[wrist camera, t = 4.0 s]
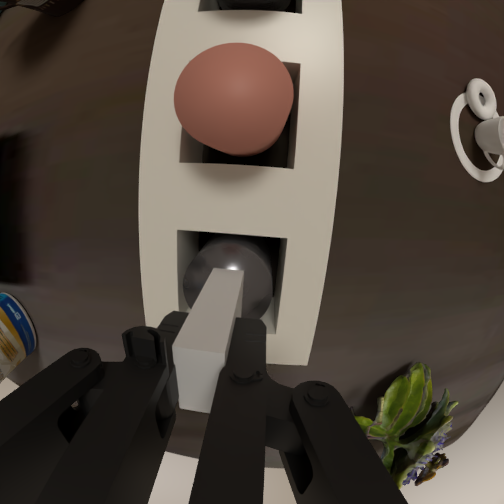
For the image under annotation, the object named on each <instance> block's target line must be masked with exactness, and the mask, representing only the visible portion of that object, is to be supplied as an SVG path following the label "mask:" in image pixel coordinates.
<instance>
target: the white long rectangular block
mask: <svg viewBox="0 0 504 504" xmlns="http://www.w3.org/2000/svg"><path fill="white" fill-rule="evenodd" d="M219 6H220V5H219V3H218V0H164V4H163V8H162V12H161V16H160V20H159V24H158V29H157V33H156V38H155V43H154V48H153V53H152V58H151V64H150V70H149V76H148V83H147V90H146V98H145V106H144V115H143V125H142V137H141V151H140V170H139V246H140V265H141V280H142V292H143V303H144V312H145V321H146V326H149V327H153V328H157V327H158V326H159V325H160V323H161V321H162V320H163V318H164V317H165V316H166V315H167V314H169V313H171V312H172V311H180V312H187V313H190V311H191V309H190V307H189V306H188V304H187V302H186V299H185V297H184V292H183V279H184V274H185V272H186V269H187V267H188V266H189V264H190V263H191V261H192V260H193V259H194V258H195V256H196V255H197V254H198V253H199V231H203V232H216V233H229V234H242V235H254V236H266V237H278V238H280V248H279V257H278V267H277V276H276V285H275V294H274V297H272V300H271V303H270V306H269V308H268V309H267V311H266V312H265V314H264V315H263V316H262V317H261V318H260V319H261V320H262V321H263V322H264V324H265V325H266V327H267V332H266V363H268V364H285V365H307V364H308V360H309V355H310V351H311V346H312V342H313V337H314V333H315V328H316V323H317V318H318V313H319V308H320V303H321V297H322V292H323V286H324V281H325V275H326V269H327V262H328V256H329V249H330V243H331V235H332V228H333V220H334V212H335V204H336V195H337V185H338V175H339V163H340V150H341V135H342V116H343V82H344V53H343V21H342V4H341V0H296V13H290V12H279V11H263V10H219ZM226 43H248V44H253V45H256V46H259V47H261V48H264V49H266V50H267V51H269V52H271V53H272V54H274V55H275V56H276V57H277V58H278V59H279V60H280V61H281V62H282V63H283V64H284V66H285V67H286V69H287V70H288V72H289V74H290V77H291V80H292V84H293V95H294V96H293V103H292V107H291V117H290V132H289V146H288V159H287V169H286V168H276V167H264V166H250V165H233V164H211V163H202V156H203V143H201V142H199V141H197V140H196V139H195V138H193V137H192V136H191V135H190V134H189V133H188V132H186V130H185V129H184V128H183V127H182V125H181V123H180V122H179V120H178V118H177V115H176V112H175V108H174V91H175V86H176V83H177V80H178V78H179V76H180V74H181V72H182V71H183V69H184V68H185V67H186V65H187V64H188V63H189V62H190V61H191V60H192V59H193V58H194V57H196V56H197V55H198V54H200V53H201V52H203V51H205V50H207V49H209V48H211V47H214V46H217V45H221V44H226Z"/></svg>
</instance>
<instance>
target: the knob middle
mask: <svg viewBox="0 0 504 504" xmlns="http://www.w3.org/2000/svg"><path fill="white" fill-rule="evenodd" d="M293 96H294V95H293V84H292V80H291V77H290V74H289V72H288V70H287V69H286V67H285V66H284V64H283V63H282V62H281V61H280V60H279V59H278V58H277V57H276V56H275V55H274V54H272V53H271V52H269V51H267V50H266V49H264V48H261V47H259V46H256V45H253V44H248V43H226V44H221V45H217V46H214V47H211V48H209V49H207V50H205V51H203V52H201V53H200V54H198V55H197V56H196V57H194V58H193V59H192V60H191V61H190V62H189V63H188V64H187V65H186V67H185V68H184V69H183V71H182V72H181V74H180V76H179V78H178V80H177V83H176V86H175V91H174V108H175V112H176V115H177V118H178V120H179V122H180V123H181V125H182V127H183V128H184V129H185V130H186V132H188V133H189V134H190V135H191V136H192V137H193V138H195V139H196V140H197V141H199V142H201V143H203V144H205V145H207V146H210V147H212V148H214V149H217V150H219V151H221V152H224V153H226V154H229V155H232V156H238V157H247V156H253V155H257V154H259V153H262V152H263V151H265V150H267V149H268V148H270V147H271V146H272V145H273V144H274V143H275V142H276V141H277V140H278V138H279V137H280V135H281V133H282V131H283V128H284V126H285V123H286V121H287V118H288V115H289V113H290V110H291V107H292V103H293Z"/></svg>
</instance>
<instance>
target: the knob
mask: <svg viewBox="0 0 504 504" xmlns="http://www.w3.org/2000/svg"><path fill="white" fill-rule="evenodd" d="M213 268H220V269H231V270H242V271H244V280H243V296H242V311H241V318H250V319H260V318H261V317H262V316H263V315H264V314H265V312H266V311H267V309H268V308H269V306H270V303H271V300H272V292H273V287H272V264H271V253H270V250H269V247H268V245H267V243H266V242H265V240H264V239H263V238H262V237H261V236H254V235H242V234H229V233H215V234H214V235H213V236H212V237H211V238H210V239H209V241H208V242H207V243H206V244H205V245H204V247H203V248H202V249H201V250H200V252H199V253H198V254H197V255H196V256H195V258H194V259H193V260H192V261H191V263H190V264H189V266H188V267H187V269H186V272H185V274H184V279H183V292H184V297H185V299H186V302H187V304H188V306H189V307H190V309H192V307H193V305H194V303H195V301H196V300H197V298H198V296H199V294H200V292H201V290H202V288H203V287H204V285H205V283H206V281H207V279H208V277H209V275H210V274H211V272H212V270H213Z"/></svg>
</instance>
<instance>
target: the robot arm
mask: <svg viewBox="0 0 504 504" xmlns="http://www.w3.org/2000/svg"><path fill="white" fill-rule="evenodd" d="M243 280H244V271H242V270H231V269H220V268H213V270H212V272H211V274H210V275H209V277H208V279H207V281H206V283H205V285H204V287H203V288H202V290H201V292H200V294H199V296H198V298H197V300H196V301H195V303H194V305H193V307H192V309H191V311H190V313H187V312H180V311H172V312H171V313H169V314H167V315H166V316H165V317H164V318H163V320H162V321H161V323H160V325H159V326H158V327H157V328H153V327H149V326H139V327H133V328H131V329H128V330H126V331H125V332H124V333H123V334H122V339H123V344H124V349H125V353H126V358H125V359H124V361H123V362H101V359H100V356H99V354H98V353H97V352H96V351H95V350H92V349H89V348H79V349H74V350H72V351H70V352H68V353H67V354H65V355H64V356H62V357H61V358H59V359H58V360H57V361H55V362H54V363H52V364H51V365H49V366H48V367H47V368H45V369H44V370H42V371H41V372H40V373H38V374H37V375H35V376H34V377H33V378H31V379H30V380H28V381H27V382H26V383H24V384H23V385H21V386H20V387H19V388H17V389H16V390H14V391H13V392H12V393H10V394H9V395H8V396H6V397H5V398H3V399H2V400H1V401H0V504H148V501H149V498H150V494H151V492H152V489H153V485H154V482H155V479H156V476H157V473H158V470H159V467H160V464H161V461H162V458H163V455H164V452H165V449H166V447H167V444H168V441H169V438H170V435H171V432H172V429H173V426H174V423H175V420H176V413H175V406H176V404H177V401H178V400H179V407H180V408H181V409H187V410H192V411H198V412H205V413H210V415H209V419H208V423H207V427H206V432H205V436H204V440H203V444H202V449H201V453H200V457H199V461H198V465H197V470H196V474H195V478H194V483H193V487H192V491H191V495H190V500H189V504H263V490H264V467H265V446H267V447H270V448H274V449H277V450H279V453H280V456H281V459H282V462H283V465H284V468H285V471H286V474H287V477H288V480H289V483H290V485H291V488H292V491H293V494H294V497H295V500H296V503H297V504H408V503H407V501H406V499H405V498H404V496H403V495H402V493H401V491H400V490H399V488H398V487H397V485H396V483H395V482H394V480H393V479H392V477H391V475H390V474H389V472H388V470H387V469H386V467H385V466H384V464H383V462H382V461H381V459H380V458H379V456H378V454H377V453H376V451H375V450H374V448H373V446H372V445H371V443H370V441H369V440H368V438H367V437H366V435H365V433H364V432H363V430H362V429H361V427H360V425H359V424H358V422H357V421H356V419H355V417H354V416H353V414H352V412H351V411H350V409H349V408H348V406H347V404H346V403H345V401H344V400H343V398H342V396H341V395H340V393H339V392H338V391H337V390H336V389H335V388H334V387H333V386H331V385H329V384H328V383H325V382H321V381H307V382H303V383H300V384H299V385H298V386H296V387H295V389H294V388H290V387H286V386H283V385H281V384H278V383H277V382H275V381H273V380H272V379H271V378H270V377H269V375H268V374H267V372H266V332H267V327H266V325H265V324H264V322H263V321H262V320H261V319H250V318H241V311H242V296H243ZM75 401H77V403H78V406H76V407H74V408H72V407H71V405H72V404H73V403H74V402H75Z"/></svg>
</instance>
